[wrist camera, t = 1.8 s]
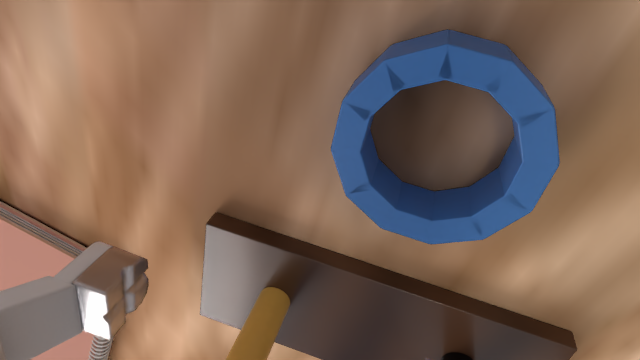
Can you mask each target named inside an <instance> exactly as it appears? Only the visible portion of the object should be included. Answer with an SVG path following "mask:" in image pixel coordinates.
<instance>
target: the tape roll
mask: <svg viewBox="0 0 640 360" xmlns="http://www.w3.org/2000/svg"><path fill="white" fill-rule="evenodd" d="M443 80H447V81H451V82H454V83H458V84H461V85H465V86H469V87H472V88H476V89H479V90H483V91H486V92H489V93H490V94H491V96H492V97H493V98H494V99H495V100H496V101H497V102H498V103H499V104H500V105H501V106H502V107H503V108H504V110H505V111H506V112H507V113H508V114H509V115H510V116H511V117H512V121H513V128H514V138H513V140H512V142H511V144H510V146H509V148H508V150H507V152H506V154H505V156H504V158H503V160H502V162H501V164H500V166H499V167H498V168H497V169H495V170H494V171H492V172H491V173H489V174H488V175H486V176H485V177H483V178H482V179H480V180H479V181H477V182H476V183H474V184H473V185H471V186H470V187H463V188H456V189H449V190H441V191H431V190H428V189H424V188H421V187H418V186H415V185H411V184H408V183H405V182H402V181H401V180H400V179H399V178H398V177H397V176H396V175H395V174H394V173H393V172H392V171H391V170H390V169H389V168H388V167H386V166H385V165H384V164H383V163H382V162H381V161H380V160H379V159H378V155H377V152H376V148H375V145H374V141H373V138H372V134H371V130H370V127H371V124H372V120H373V117H374V114H375V113H376V112H377V111H378V110H379V109H380V108H381V107H382V106H384V105H385V104H386V103H387V102H388V101H389V100H390V99H391V98H392V97H394V96H395V95H396V94H397V93H398V92H399V91H400V90H403V89H407V88H412V87H416V86H421V85H425V84H429V83H434V82H438V81H443ZM331 152H332V155H333V158H334V161H335V164H336V167H337V170H338V173H339V176H340V179H341V182H342V185H343V188H344V191H345V194H346V196H347V197H348V198H349V199H350V200H351V201H352V202H353V203H354V204H355V205H357V206H358V207H359V208H360V209H361V210H362V211H363V212H364V213H365V214H366V215H367V216H368V217H369V218H371V219H372V220H373V221H374V222H375V223H376V224H377V225H378V226H379V227H380V228H382V229H385V230H388V231H391V232H394V233H397V234H400V235H403V236H406V237H409V238H412V239H415V240H419V241H422V242H425V243H428V244H440V243H451V242H462V241H473V240H483V239H485V238H487V237H489V236H490V235H492V234H494V233H496V232H497V231H499V230H501V229H503V228H504V227H506V226H508V225H509V224H511V223H513V222H515V221H516V220H518V219H520V218H522V217H523V216H525V215H527V214H529V213H530V212H531V211H532V210H533V209H534V207H535V205H536V203H537V202H538V200H539V198H540V197H541V195H542V193H543V192H544V190H545V188H546V187H547V185H548V183H549V182H550V180H551V178H552V176H553V175H554V173H555V171H556V170H557V168H558V166H559V163H560V161H559V149H558V138H557V126H556V114H555V108H554V106H553V104H552V102H551V100H550V98H549V97H548V95H547V93H546V91H545V89H544V88H543V86H542V84H541V83H540V82H539V81H538V80H537V79H536V78H535V77H534V75H533V74H532V73H531V72H530V71H529V70H528V69H527V68H526V66H525V65H524V64H523V63H522V62H521V61H520V60H519V59H518V58H517V56H516V55H515V54H514V53H513V52H512V51H511V50H510V49H509V47H508V46H506V45H504V44H502V43H498V42H494V41H490V40H487V39H483V38H479V37H475V36H472V35H468V34H464V33H460V32H457V31H453V30H448V29H447V30H443V31H440V32H436V33H432V34H428V35H425V36H421V37H417V38H413V39H410V40H406V41H402V42H399V43H395V44H392V45H391V46H390V47H389V48H388V49H387V50H386V51H385V52H384V53H383V54H382V55H381V56H380V57H379V58H377V59H376V60H375V61H374V62H373V63H372V64H371V65H370V66H369V67H368V68H367V69H366V70H365V71H364V72H363V73H362V74H361V75H360V76H359V77H358V78H357V79H356V80H355V81H354V83H353V85H352V86H351V88H350V90H349V91H348V93H347V94H346V96H345V98H344V99H343V101H342V105H341V109H340V113H339V117H338V121H337V125H336V129H335V133H334V137H333V141H332V146H331Z"/></svg>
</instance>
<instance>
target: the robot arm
mask: <svg viewBox="0 0 640 360" xmlns="http://www.w3.org/2000/svg"><path fill="white" fill-rule="evenodd" d="M147 269H148V261H147V259H145V258H143V257H140V256H137V255H135V254H132V253H130V252H127V251H125V250H122V249H119V248H117V247H114V246H111V245H108V244H106V243H103V242H100V241H98V242H95V243H93V244H91V245H90V246H89V247H88V248H87V249H85V250H84V251H83V252H82V253H81V254H80V255H78V256H77V257H76V258H75V259H74V260H73V261H71V262H70V263H69V264H68V265H67V266H66V267H65V268H63V269H62V270H61V271H60V272H59V273H58V274H56V275H55V276H54V277H51V276H46V277H43V278H40V279H36V280H33V281H30V282H27V283H24V284H21V285H18V286H15V287H12V288H8V289H5V290H2V291H0V360H30V359H32V358H34V357H36V356H38V355H40V354H41V353H43V352H45V351H47V350H49V349H51V348H53V347H55V346H57V345H59V344H61V343H63V342H65V341H67V340H68V339H70V338H72V337H74V336H76V335H78V334H80V333H82V331H85V332H88V333H91V334H94V335H97V336H99V337H102V338H105V339H108V340H111V339H112V337H113V336H114V335H115V334H116V333H117V332H118V330H119V329H120V328H121V327H122V326H123V324H124V323H125V322H126V314H127V313H130V312H132V311H134V310H136V309H137V308H138V306H139V305H140V304H141V303H142V301H143V299H144V297H145V295H146V293H147V289H148V278H147V276H146V275H145V273H144V272H145V271H146V270H147ZM422 360H433V359H430V358H427V357H424V358H423V359H422Z"/></svg>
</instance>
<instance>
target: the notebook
mask: <svg viewBox="0 0 640 360" xmlns="http://www.w3.org/2000/svg"><path fill="white" fill-rule="evenodd" d="M85 249H87V248H86V247H85V246H83V245H81V244H79V243H77V242H75V241H73V240H72V239H70V238H68V237H66V236H64V235H62V234H60V233H59V232H57V231H55V230H53V229H51V228H49V227H47V226H46V225H44V224H42V223H40V222H38V221H36V220H34V219H33V218H31V217H29V216H27V215H25V214H23V213H21V212H20V211H18V210H16V209H14V208H12V207H10V206H8V205H7V204H5V203H3V202H1V201H0V291H2V290H5V289H8V288H12V287H15V286H18V285H21V284H24V283H27V282H30V281H33V280H36V279H40V278H43V277H46V276H51V277H54V276H55V275H56V274H58V273H59V272H60V271H61V270H62V269H63V268H65V267H66V266H67V265H68V264H69V263H70V262H71V261H73V260H74V259H75V258H76V257H77V256H78V255H80V254H81V253H82V252H83V251H84V250H85ZM113 337H114V336H113ZM113 337H112V339H111V340H107V341H106V340H105V338H102V337H99V336H97V335H94V334H91V333H88V332H85V331H82V333H80V334H78V335H76V336H74V337H72V338H70V339H68V340H67V341H65V342H63V343H61V344H59V345H57V346H55V347H53V348H51V349H49V350H47V351H45V352H43V353H41V354H40V355H38V356H36V357H34V358H32V359H30V360H100V359H101V360H108V357H109V353H110V348H111V344H112V340H113ZM104 343H107V344H104ZM108 345H109V346H108ZM104 347H107V348H104ZM104 350H105V351H104ZM106 352H107V353H106ZM103 354H105V355H103ZM105 356H106V357H105ZM103 357H104V358H103Z"/></svg>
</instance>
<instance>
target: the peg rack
mask: <svg viewBox="0 0 640 360" xmlns="http://www.w3.org/2000/svg"><path fill="white" fill-rule="evenodd" d="M200 315H202V316H205V317H207V318H210V319H213V320H216V321H218V322H221V323H224V324H227V325H229V326H232V327H235V328H237V329H240V330H241V331H240V333H239V335H238V337H237V339H236V341H235V343H234V345H233V347H232V349H231V350H230V352H229V354H228V356H227V358H226V360H267V358H268V355H269V353H270V351H271V348H272V346H273V344H274V342H276V343H278V344H281V345H284V346H287V347H289V348H292V349H295V350H298V351H300V352H303V353H306V354H308V355H311V356H314V357H317V358H319V359H322V360H422V359H423V358H424V357H427V358H430V359H433V360H569V359H570V358H571V357H572V356H573V354H574V353H575V352H576V351H577V347H576V343H575V340H574V337H573V333H572V332H570V331H567V330H564V329H561V328H558V327H555V326H552V325H549V324H546V323H543V322H540V321H537V320H535V319H532V318H529V317H526V316H523V315H520V314H517V313H514V312H511V311H508V310H505V309H502V308H499V307H496V306H493V305H490V304H487V303H484V302H481V301H478V300H475V299H472V298H469V297H466V296H463V295H460V294H457V293H454V292H451V291H448V290H445V289H442V288H439V287H436V286H433V285H430V284H427V283H424V282H421V281H418V280H415V279H412V278H410V277H407V276H404V275H401V274H398V273H395V272H392V271H389V270H386V269H383V268H380V267H377V266H374V265H371V264H368V263H365V262H362V261H359V260H356V259H353V258H350V257H347V256H344V255H341V254H338V253H335V252H332V251H329V250H326V249H323V248H320V247H317V246H314V245H311V244H308V243H305V242H302V241H299V240H296V239H293V238H290V237H287V236H285V235H282V234H279V233H276V232H273V231H270V230H267V229H264V228H261V227H258V226H255V225H252V224H249V223H246V222H243V221H240V220H237V219H234V218H231V217H228V216H225V215H222V214H219V213H215V214H214V215H213V216H212V217H211V219H210V220H209V221H208V222H207V224H206V235H205V250H204V264H203V278H202V293H201V307H200Z"/></svg>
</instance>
